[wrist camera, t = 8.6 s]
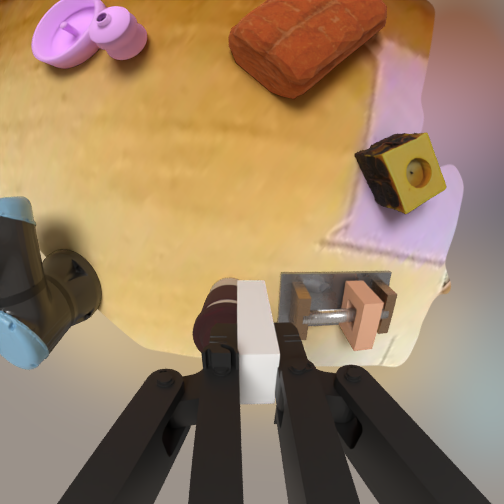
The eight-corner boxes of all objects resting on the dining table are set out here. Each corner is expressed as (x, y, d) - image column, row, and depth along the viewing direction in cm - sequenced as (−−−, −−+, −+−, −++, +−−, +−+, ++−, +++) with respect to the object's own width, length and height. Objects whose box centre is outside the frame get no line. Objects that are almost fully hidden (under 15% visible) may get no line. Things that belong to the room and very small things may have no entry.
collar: (338, 323, 53) (353, 350, 44) (345, 280, 50) (364, 304, 41) (354, 322, 53) (371, 348, 44) (362, 280, 50) (383, 303, 41)
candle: (352, 153, 45) (379, 153, 35) (395, 132, 44) (427, 129, 34) (375, 205, 48) (404, 216, 38) (415, 181, 47) (448, 188, 37)
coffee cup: (224, 327, 54) (221, 380, 40) (191, 289, 51) (176, 336, 37) (267, 300, 52) (277, 349, 38) (235, 259, 50) (234, 299, 35)
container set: (37, 63, 35) (-1, 50, 22) (73, 2, 31) (43, -22, 18) (127, 86, 39) (92, 67, 27) (169, 16, 35) (150, -20, 23)
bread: (380, 30, 37) (407, 10, 27) (288, 109, 42) (302, 95, 32) (320, -21, 33) (336, -49, 23) (219, 51, 39) (215, 25, 28)
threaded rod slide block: (277, 324, 54) (282, 349, 47) (280, 272, 51) (287, 291, 43) (379, 319, 55) (395, 339, 48) (389, 270, 52) (409, 287, 44)
